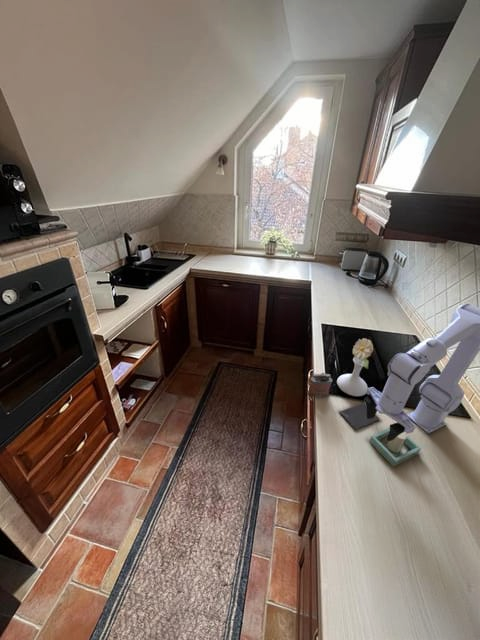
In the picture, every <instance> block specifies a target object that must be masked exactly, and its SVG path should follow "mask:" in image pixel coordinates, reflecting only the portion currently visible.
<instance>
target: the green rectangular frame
mask: <svg viewBox="0 0 480 640" xmlns="http://www.w3.org/2000/svg"><path fill="white" fill-rule="evenodd" d="M389 431H390V427H388V428H386V429H385V430H383V431H380V432H378V433H376V434H374V435H371V437H370V438H369V442H370V444H371V445H372V446H373V447H374V448H375V449H376V450H377V451H378V452H379V453H380V454H381V455H382V456H383V457H384V458H385V459H386V461H387V462H388V463H389V464H390V465H391V466H392V467H395V466H397V465H400V464H401V463H403V462H405V461H407V460H408V459H411V458H412V457H414V456H416V455H418V454H419V453H420V451H421V450H422V448H421V447H420V446H419V445H418V444H417V443H416V442H414V441H413V439H411V438H410V437H409V436H408V434H406V436H407V438H406V440H405V441H404V443H403V444H405V445H406V446H407V447H408V448H409V449H410V450H409V451H407V452H405V453H403V454H401V455H399V456H397V457H396V456H394V455H393V454H392V453H391V452H390V450H388V449H387V447H385V446H384V445H383V443H382V442H381V441H380V440H382V439H383V438H387V436H388V434H389Z"/></svg>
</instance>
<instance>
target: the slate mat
mask: <svg viewBox="0 0 480 640" xmlns="http://www.w3.org/2000/svg"><path fill="white" fill-rule="evenodd" d="M339 414H340V416H342V417H343V419H345V421H346V422H347V423H348V424H349V425H350V427H352V428H353V429H354V431H355V430H356V431H357V430H358V429H359V430H360V429H361V428H364V427H366V426H368V425H370V424H374V423H376V422H378V421H380V420H381V419H380V417H379V416H378V415H375V416H374V418H371V419H368V418H367V407H366V403H365V402H362V403H359V404H356V405H354V406H351V407H349V408H346V409H342V410H341V411H339Z"/></svg>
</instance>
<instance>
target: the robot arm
mask: <svg viewBox="0 0 480 640" xmlns="http://www.w3.org/2000/svg"><path fill="white" fill-rule="evenodd" d="M455 345H457V346H456V347H455V350H453V353H452V354H451V356H450V357H449V359H448V361H447V362H446V364H445V366H444V367H443V369H442V370H441V372H440V373H439V374H432V375H430V376H427V377H426V379H425V380H424V381H423V382H422V383H421V384H420V386H419V388H418V394H420V400H419V402H418V404H417V406H416V408H415V409H414V411H411V412H409V413H406V412H405V410H404V407H405V406H406V404H407V402H408V400H409V397H410V396H411V393H412V392H413V390H414V388H415V385H416V384H418V383H420V382H421V381H422V380H423V378H425V376H426V375H427V374H428V373H429V372H430V370H431V368H432V367H433V366H434V365H436V364H437V363H438V362H440V361H441V360H443V359H444V358H445V357H447V355H448V349H450V348H451V347H453V346H455ZM479 353H480V307H478V306H474V305H472V304H471V303H468V302H465V303H462V304H460V305H459V306H458V307H457V308H456V309H455V310H454V311H453V313H452V315H451V319H450V323H449V325H447V326H446V327H445V328H444V329H443V330H442V331H441V332H440V333H438V334H437V335H436V336H434V337H433V338H432V337H427V338H424V340H422V341H420V342H419V343H418V344H417V345H415V346H413V347H412V348H410V349H409V350H408V351H407V352H404V353H403V352H399V353H397V354H395V355H394V356H393V357H392V358H391V359H390V361H389V363H388V364H387V370H388V371H387V374H386V375H387V377H388V378H387V380H386V382H385V385H384V387H383V390H382V392H381V391H379V390H378V389H376V388H375V387H374V386H372V387H371V386H370V387H368V389H367V392H366V394H367V396H365V397H364V399H363V401H364V404H365V405H366V407H367V418H368V419H371V418H374V416H375V415H376V414H377V412H378V413H379V414H384V415H386V416H387V417H389V418H390V419H391V420H393V421H395V422H393V423H391V424H390V425H389V428H390V431H389V434H388V436H386V440H387V442H389V441H391V440H394V439H395V438H396V437H397V436H398V435H400V434H401V433H403V432H404V433H405V434H406V435H408V434H411V433H413V432H414V431H415V429H416V428H417V427H416V425H417V426H418V427H420V428H421V429H422V430H423V431H425V432H426V433H427V434H430V433H432V432H435V431H436V430H438V429H441V428H442V427H445V426H446V425H447V423H446V422H445V420H446V418H447V417H448V415H449V414H450V413H452V412H454V411H455V410H456V409H457V408H458V407H459V406H460V404H461V403H462V401H463V398H464V396H465V391H464V390H463V388H462V387H461V386H460V384H459V382H460V381H461V379H462V378H463V376H464V375H465V374H466V372H467V371H468V369H469V368H470V366H471V364H472V363H473V362H474V360H475V358H476V357H477V355H478V354H479ZM376 416H377V415H376ZM413 422H414V423H415V424H416V425H415V424H413Z"/></svg>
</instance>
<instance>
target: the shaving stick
mask: <svg viewBox="0 0 480 640" xmlns="http://www.w3.org/2000/svg"><path fill="white" fill-rule="evenodd" d="M406 435H407V433H406V432H403V433H401V434H400V435H398V436H397V437H396V438H395V439H394V440H391V441H387V444H386V446H387V448H388V449H389V451H391V452H393V453H399V452H400V450H401V449H402V447H403V445H404V444H405V443H404V441H405V440H406V438H407V436H408V435H407V436H406Z"/></svg>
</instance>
